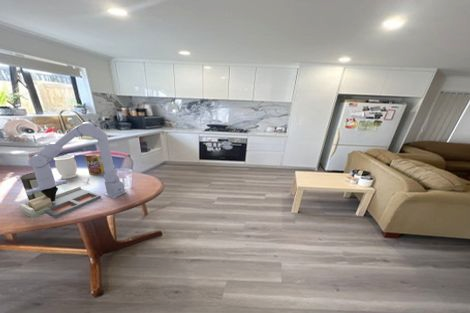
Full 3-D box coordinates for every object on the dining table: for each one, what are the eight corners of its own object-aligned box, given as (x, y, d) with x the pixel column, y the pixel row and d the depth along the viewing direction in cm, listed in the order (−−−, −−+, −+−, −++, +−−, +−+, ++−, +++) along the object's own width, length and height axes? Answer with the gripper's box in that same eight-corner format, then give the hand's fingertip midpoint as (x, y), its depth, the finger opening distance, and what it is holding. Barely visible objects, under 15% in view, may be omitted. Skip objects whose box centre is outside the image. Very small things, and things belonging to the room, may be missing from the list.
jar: (71, 173, 128) (66, 154, 124) (82, 174, 127) (78, 155, 123) (55, 178, 118) (49, 158, 114) (67, 180, 117) (62, 160, 113)
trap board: (101, 198, 98) (99, 191, 97) (44, 223, 76) (41, 215, 75) (80, 191, 104) (78, 184, 103) (23, 212, 83) (19, 204, 82)
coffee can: (23, 203, 90) (14, 179, 86) (35, 194, 99) (28, 172, 95) (49, 200, 94) (41, 177, 90) (59, 191, 103) (52, 170, 99)
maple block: (52, 205, 87) (50, 198, 85) (35, 211, 81) (33, 204, 80) (46, 202, 89) (43, 195, 87) (29, 208, 83) (26, 201, 82)
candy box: (88, 174, 127) (84, 155, 123) (92, 172, 131) (88, 153, 127) (101, 174, 128) (97, 155, 124) (105, 172, 132) (101, 153, 128)
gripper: (59, 171, 92) (65, 192, 96) (19, 181, 79) (28, 206, 83) (66, 173, 90) (72, 195, 94) (27, 184, 77) (36, 209, 81)
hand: (52, 200), depth 89 cm, fingers closed
